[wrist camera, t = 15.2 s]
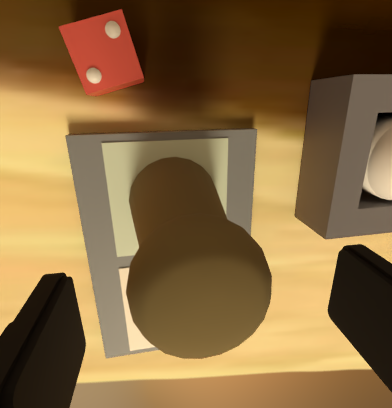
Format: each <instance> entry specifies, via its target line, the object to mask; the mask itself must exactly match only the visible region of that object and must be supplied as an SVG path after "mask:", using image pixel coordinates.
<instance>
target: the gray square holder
mask: <svg viewBox="0 0 392 408" xmlns="http://www.w3.org/2000/svg"><path fill="white" fill-rule="evenodd" d="M385 112H392V74H353V75H346V76H339V77H332V78H325V79H318V80H311V87H310V95H309V103H308V112H307V120H306V128H305V136H304V144H303V152H302V160H301V169H300V177H299V185H298V193H297V201H296V209H295V217H296V218H297V219H299V220H300V221H301V222H303V223H304V224H305V225H307V226H308V227H309V228H311V229H312V230H314V231H315V232H316V233H318V234H319V235H320V236H322V237H323V238H324V239H334V238H343V237H352V236H362V235H371V234H380V233H390V232H392V200H386V199H383V198H380V197H377V196H375V195H372V194H370V193H367V192H365V191H362V187H363V182H364V177H365V173H366V168H367V163H368V158H369V153H370V149H371V144H372V139H373V134H374V130H375V125H376V120H377V115H378V113H385Z"/></svg>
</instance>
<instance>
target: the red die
mask: <svg viewBox="0 0 392 408" xmlns="http://www.w3.org/2000/svg"><path fill="white" fill-rule="evenodd" d="M59 29H60V31H61V34H62V36H63V39H64V41H65V43H66V46H67V48H68V51H69V53H70V56H71V58H72V61H73V63H74V65H75V68H76V70H77V73H78V75H79V78H80V80H81V83H82V85H83V87H84V90H85V92H86V95H91V96H99V95H103V94H106V93H110V92H113V91H116V90H120V89H123V88H126V87H130V86H133V85H136V84H140V83H143V82H144V76H143V73H142V70H141V67H140V64H139V61H138V58H137V55H136V52H135V49H134V45H133V42H132V39H131V36H130V33H129V30H128V27H127V24H126V21H125V18H124V15H123V11H122V9H120V10H116V11H113V12H109V13H106V14H102V15H98V16H95V17H91V18H88V19H84V20H81V21H77V22H74V23H70V24H66V25H63V26H59Z"/></svg>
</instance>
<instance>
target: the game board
mask: <svg viewBox="0 0 392 408" xmlns="http://www.w3.org/2000/svg"><path fill="white" fill-rule="evenodd" d="M256 138H257V129H254V128H245V129H215V130H184V131H154V132H124V133H93V134H68V135H66V141H67V147H68V152H69V158H70V163H71V169H72V174H73V180H74V185H75V191H76V196H77V202H78V207H79V213H80V218H81V224H82V229H83V235H84V240H85V246H86V251H87V257H88V262H89V268H90V273H91V279H92V284H93V290H94V295H95V301H96V306H97V312H98V317H99V323H100V328H101V334H102V339H103V345H104V350H105V356H106V358H112V357H118V356H124V355H130V354H136V353H142V352H149V351H155V350H159V349H158V348H156V347H155V346H153V345H152V344H150V343H149V342H148V341H147V340H146V339H145V338H144V336H143V335H142V334H141V332H140V331H139V329H138V328H137V327H136V325H135V324H134V322H133V320H132V316H131V313H130V309H129V304H128V300H127V296H126V287H127V280H128V274H129V268H130V263H131V261H132V259H133V257H134V256H135V254H136V252H137V250H138V249H139V245H138V241H137V236H136V232H135V228H134V223H133V219H132V215H131V210H130V205H129V196H130V189H131V186H132V184H133V182H134V180H135V178H136V176H137V175H138V174H139V173H140V172H141V171H142V170H143V169H144V168H145V167H146V166H147V165H149V164H151V163H153V162H155V161H157V160H159V159H162V158H170V157H180V158H185V159H190V160H192V161H193V162H195V163H197V164H199V165H201V166H202V167H203V168H204V169H205V170H206V171H207V173H208V174H209V175H210V176H211V178H212V180H213V183H214V185H215V187H216V190H217V193H218V195H219V198H220V201H221V203H222V206H223V209H224V211H225V214H226V217H227V219H228V220H229V221H231V222H233V223H235V224H237V225H239V226H241V227H243V228H244V229H245V230H246V232H247V233H248V234H249V235H250V236H251V219H252V203H253V187H254V171H255V154H256Z"/></svg>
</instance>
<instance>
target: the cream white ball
mask: <svg viewBox="0 0 392 408" xmlns="http://www.w3.org/2000/svg"><path fill="white" fill-rule="evenodd" d="M362 191H365V192H367V193H370V194H372V195H375V196H377V197H380V198H383V199H386V200H392V116H390V115H388V116H382V117H378V118H377V120H376V125H375V130H374V134H373V139H372V144H371V149H370V153H369V158H368V163H367V168H366V173H365V177H364V182H363V187H362Z"/></svg>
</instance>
